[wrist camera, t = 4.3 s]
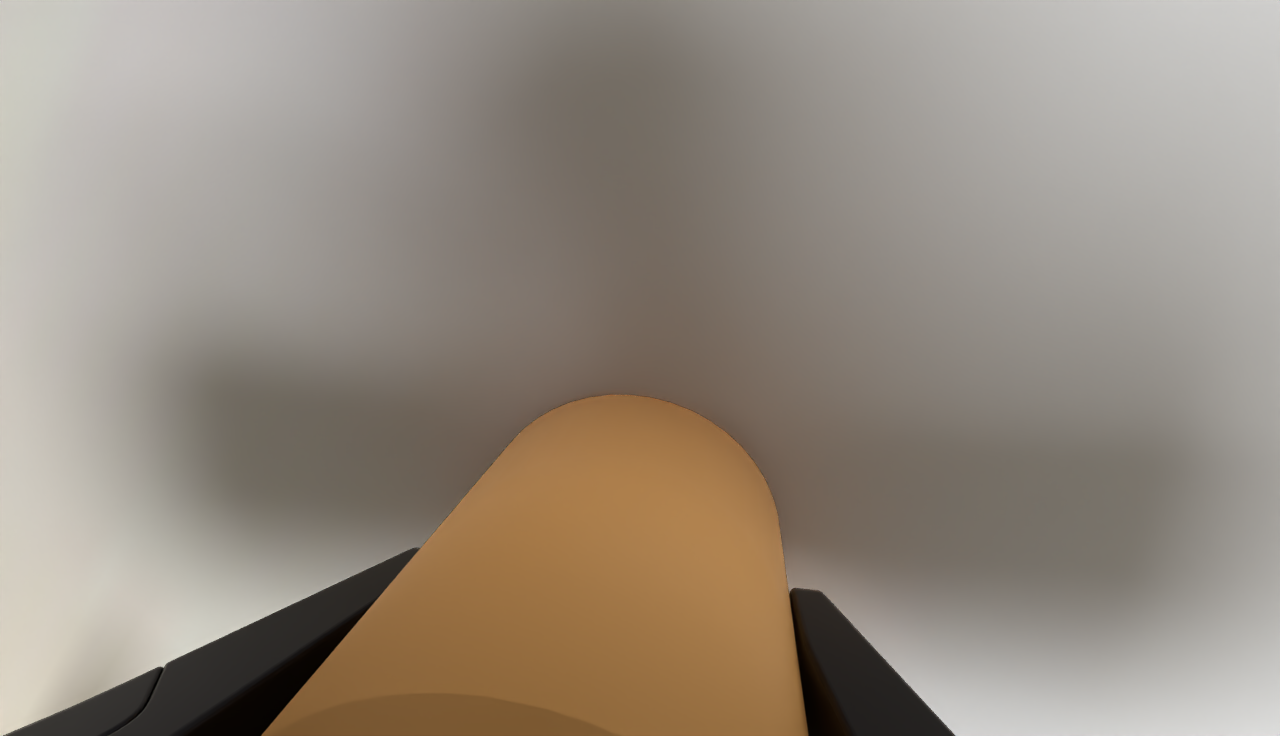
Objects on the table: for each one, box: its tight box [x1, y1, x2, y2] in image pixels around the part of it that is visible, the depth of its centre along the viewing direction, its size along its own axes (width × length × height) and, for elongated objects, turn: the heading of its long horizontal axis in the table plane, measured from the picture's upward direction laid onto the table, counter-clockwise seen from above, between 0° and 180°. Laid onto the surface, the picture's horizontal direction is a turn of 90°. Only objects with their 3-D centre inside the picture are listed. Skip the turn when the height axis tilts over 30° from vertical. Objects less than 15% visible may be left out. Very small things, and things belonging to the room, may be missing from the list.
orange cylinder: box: [261, 395, 809, 736], centre depth 8 cm, size 5×5×6 cm
